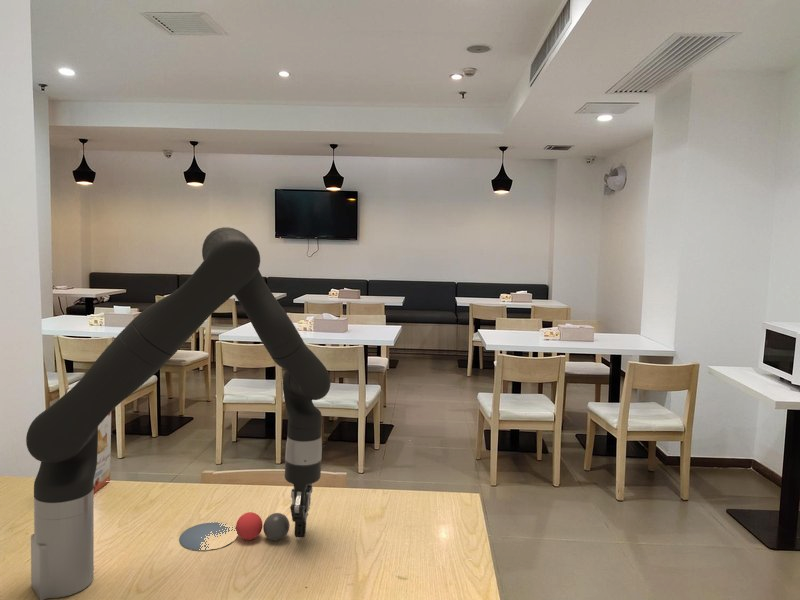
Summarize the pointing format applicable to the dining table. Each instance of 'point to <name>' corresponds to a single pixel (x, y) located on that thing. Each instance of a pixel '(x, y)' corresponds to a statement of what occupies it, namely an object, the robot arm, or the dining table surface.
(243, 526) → the red ball
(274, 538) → the gray ball
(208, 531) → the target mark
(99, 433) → the cracker box
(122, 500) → the dining table surface
